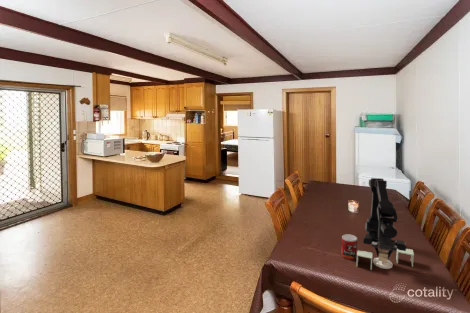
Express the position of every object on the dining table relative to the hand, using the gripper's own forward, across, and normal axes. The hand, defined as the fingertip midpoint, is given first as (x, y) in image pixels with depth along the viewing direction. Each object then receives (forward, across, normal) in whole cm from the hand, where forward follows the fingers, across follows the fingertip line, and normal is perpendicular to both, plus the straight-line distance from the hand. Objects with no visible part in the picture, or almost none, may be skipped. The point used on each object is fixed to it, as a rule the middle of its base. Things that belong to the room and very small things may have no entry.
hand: (382, 257), depth 137 cm
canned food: (+4, -16, +1) cm, 17 cm away
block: (+1, 0, 0) cm, 1 cm away
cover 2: (+4, +10, +6) cm, 13 cm away
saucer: (+4, 0, 0) cm, 4 cm away
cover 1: (+4, -8, -6) cm, 11 cm away
